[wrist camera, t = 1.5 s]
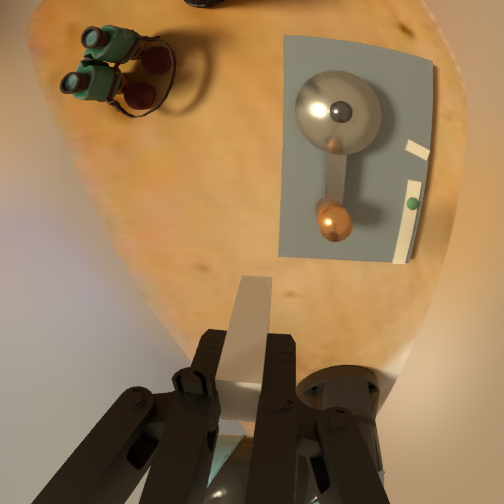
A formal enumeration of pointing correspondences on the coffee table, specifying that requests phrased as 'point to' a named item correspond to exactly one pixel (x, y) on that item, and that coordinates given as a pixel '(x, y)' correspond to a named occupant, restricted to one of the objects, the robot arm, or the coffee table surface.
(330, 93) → the cam lever
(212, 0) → the beverage can
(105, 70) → the binoculars
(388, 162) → the level board
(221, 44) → the coffee table surface
